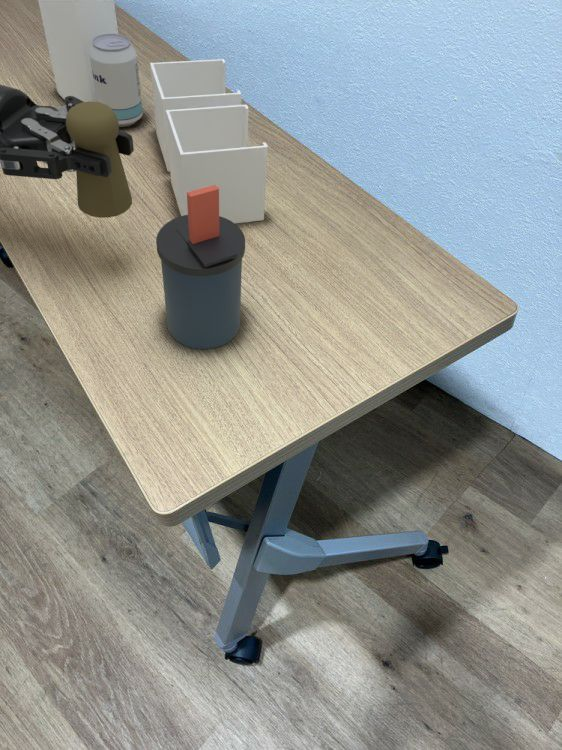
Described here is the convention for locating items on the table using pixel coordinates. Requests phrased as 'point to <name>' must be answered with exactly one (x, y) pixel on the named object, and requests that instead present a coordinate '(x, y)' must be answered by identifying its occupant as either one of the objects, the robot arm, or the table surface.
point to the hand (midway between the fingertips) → (120, 155)
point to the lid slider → (206, 227)
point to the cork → (98, 133)
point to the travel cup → (200, 286)
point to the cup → (75, 41)
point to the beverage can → (117, 76)
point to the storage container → (208, 138)
